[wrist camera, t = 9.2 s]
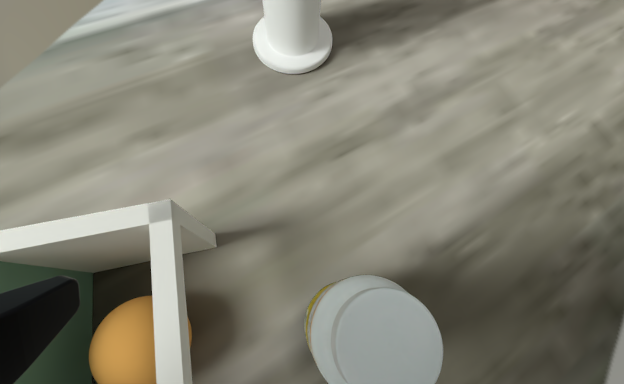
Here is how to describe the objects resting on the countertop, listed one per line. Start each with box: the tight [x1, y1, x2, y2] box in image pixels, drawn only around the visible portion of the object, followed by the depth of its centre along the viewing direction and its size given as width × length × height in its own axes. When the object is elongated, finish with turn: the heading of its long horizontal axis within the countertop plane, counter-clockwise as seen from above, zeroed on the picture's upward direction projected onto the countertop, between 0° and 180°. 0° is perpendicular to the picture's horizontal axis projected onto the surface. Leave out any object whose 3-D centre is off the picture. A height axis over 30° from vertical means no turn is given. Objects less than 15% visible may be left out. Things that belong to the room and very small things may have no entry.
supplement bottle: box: [304, 275, 443, 384], centre depth 16 cm, size 5×5×10 cm
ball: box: [89, 296, 192, 384], centre depth 17 cm, size 5×5×5 cm
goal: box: [0, 199, 217, 384], centre depth 15 cm, size 14×9×8 cm, turn 12°
